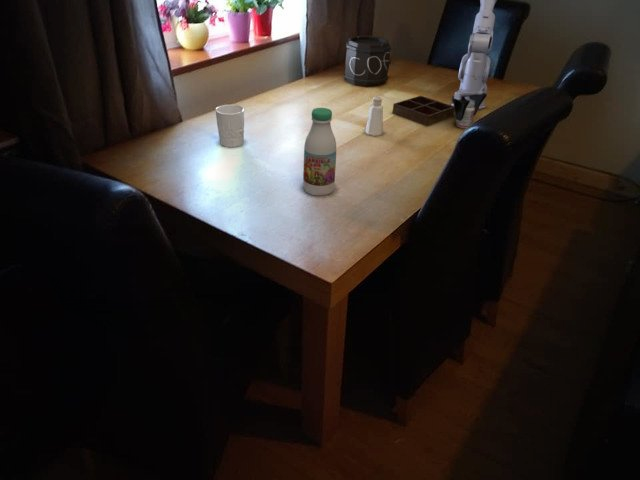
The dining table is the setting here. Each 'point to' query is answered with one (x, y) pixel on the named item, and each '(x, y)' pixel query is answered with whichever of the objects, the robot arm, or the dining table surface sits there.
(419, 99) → the tray
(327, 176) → the milk bottle
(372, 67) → the coffee canister
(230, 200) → the dining table surface
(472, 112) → the pill bottle
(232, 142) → the white cup
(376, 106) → the pepper shaker
